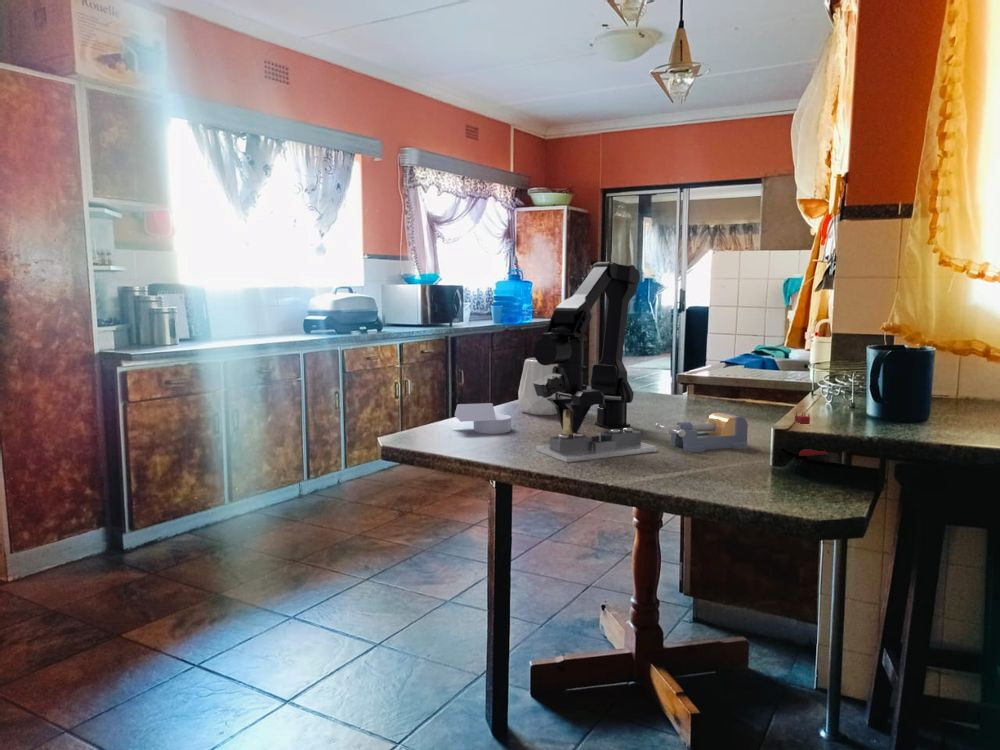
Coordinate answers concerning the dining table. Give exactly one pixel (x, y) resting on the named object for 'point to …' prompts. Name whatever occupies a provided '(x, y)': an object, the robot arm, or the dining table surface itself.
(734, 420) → the vise
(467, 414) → the wedge on round base
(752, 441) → the dining table surface
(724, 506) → the dining table surface
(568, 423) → the pin
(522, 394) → the vase
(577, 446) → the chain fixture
